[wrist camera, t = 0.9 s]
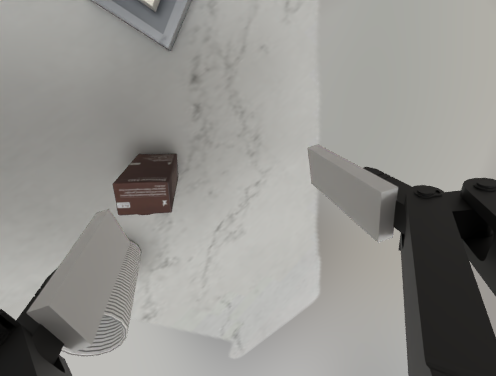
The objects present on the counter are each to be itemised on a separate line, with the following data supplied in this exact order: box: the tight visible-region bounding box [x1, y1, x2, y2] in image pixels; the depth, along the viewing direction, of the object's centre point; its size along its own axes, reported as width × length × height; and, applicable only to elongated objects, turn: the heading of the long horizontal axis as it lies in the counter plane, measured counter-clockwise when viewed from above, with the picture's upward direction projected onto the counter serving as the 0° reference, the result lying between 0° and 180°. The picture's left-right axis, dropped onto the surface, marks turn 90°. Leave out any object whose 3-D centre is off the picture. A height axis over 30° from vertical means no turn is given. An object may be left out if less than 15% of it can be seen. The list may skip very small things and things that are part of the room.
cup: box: [61, 241, 141, 356], centre depth 35 cm, size 8×8×16 cm
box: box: [113, 154, 178, 215], centre depth 31 cm, size 6×4×12 cm
